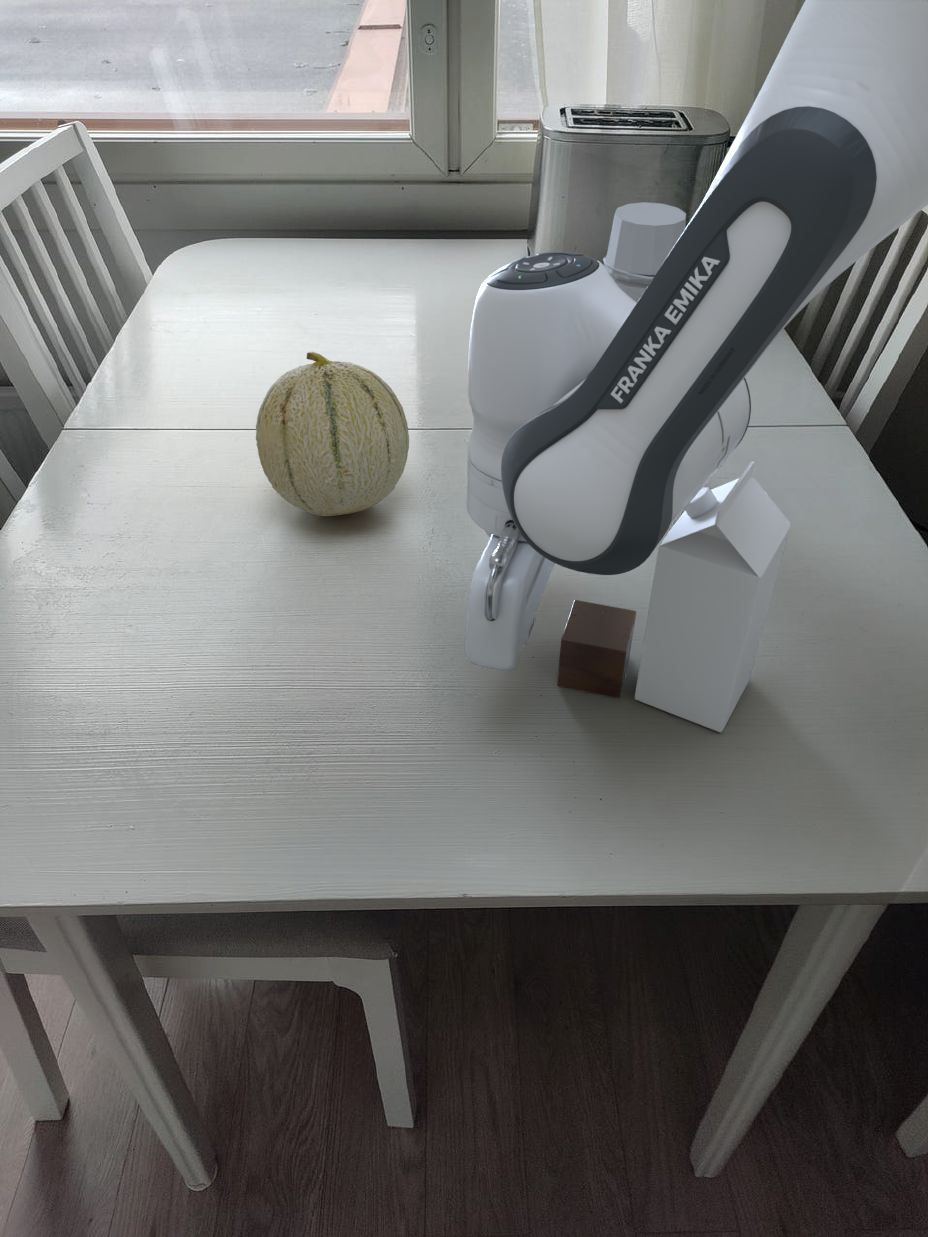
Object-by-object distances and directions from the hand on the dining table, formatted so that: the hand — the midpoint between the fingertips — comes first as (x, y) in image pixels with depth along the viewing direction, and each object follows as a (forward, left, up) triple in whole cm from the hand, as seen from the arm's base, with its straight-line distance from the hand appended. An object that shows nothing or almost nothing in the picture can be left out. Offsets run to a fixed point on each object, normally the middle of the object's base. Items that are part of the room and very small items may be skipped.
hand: (520, 633), depth 77 cm
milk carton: (-14, 0, -3) cm, 14 cm away
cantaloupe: (+23, -17, -3) cm, 29 cm away
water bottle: (-3, -35, -3) cm, 35 cm away
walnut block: (-6, 0, -3) cm, 7 cm away
